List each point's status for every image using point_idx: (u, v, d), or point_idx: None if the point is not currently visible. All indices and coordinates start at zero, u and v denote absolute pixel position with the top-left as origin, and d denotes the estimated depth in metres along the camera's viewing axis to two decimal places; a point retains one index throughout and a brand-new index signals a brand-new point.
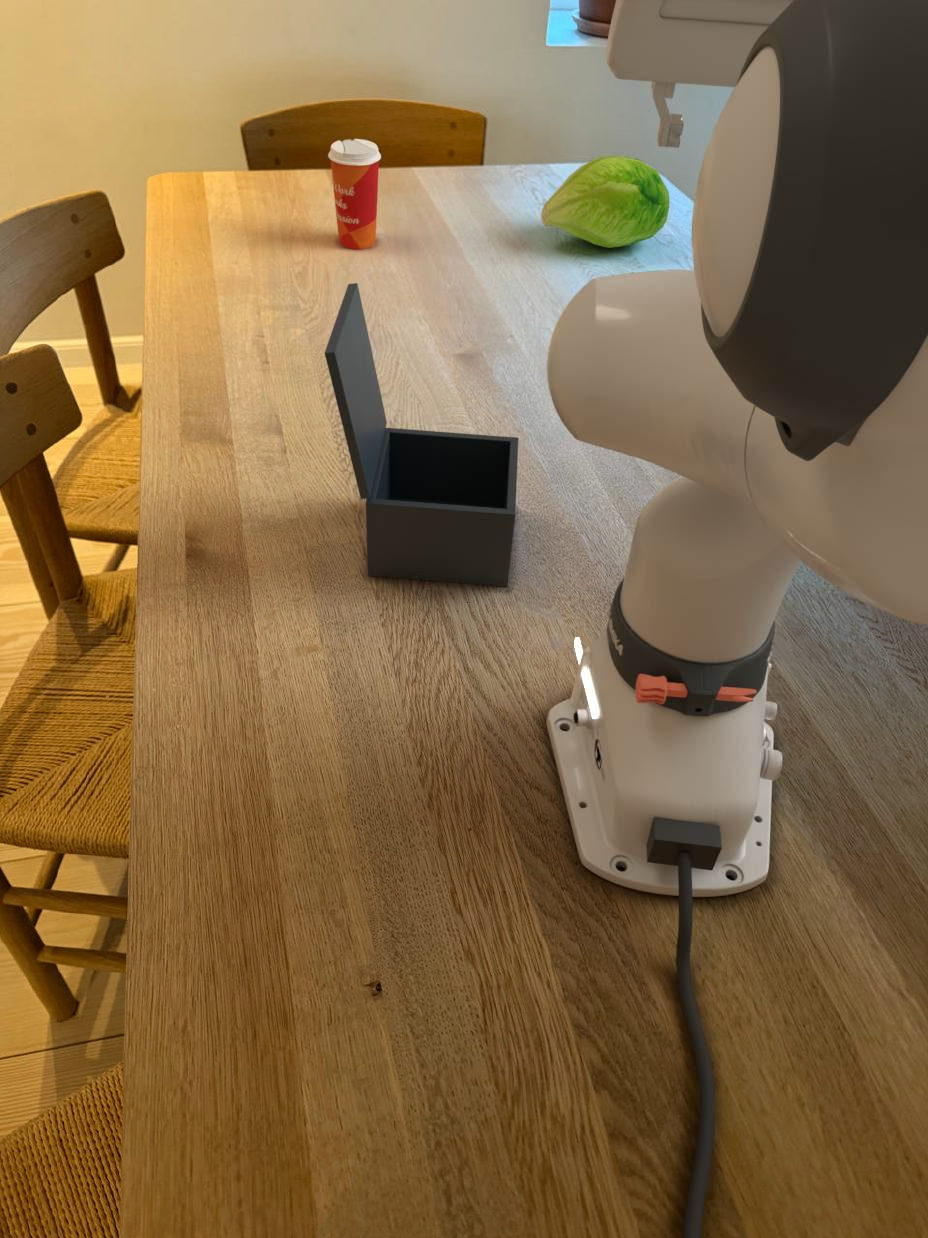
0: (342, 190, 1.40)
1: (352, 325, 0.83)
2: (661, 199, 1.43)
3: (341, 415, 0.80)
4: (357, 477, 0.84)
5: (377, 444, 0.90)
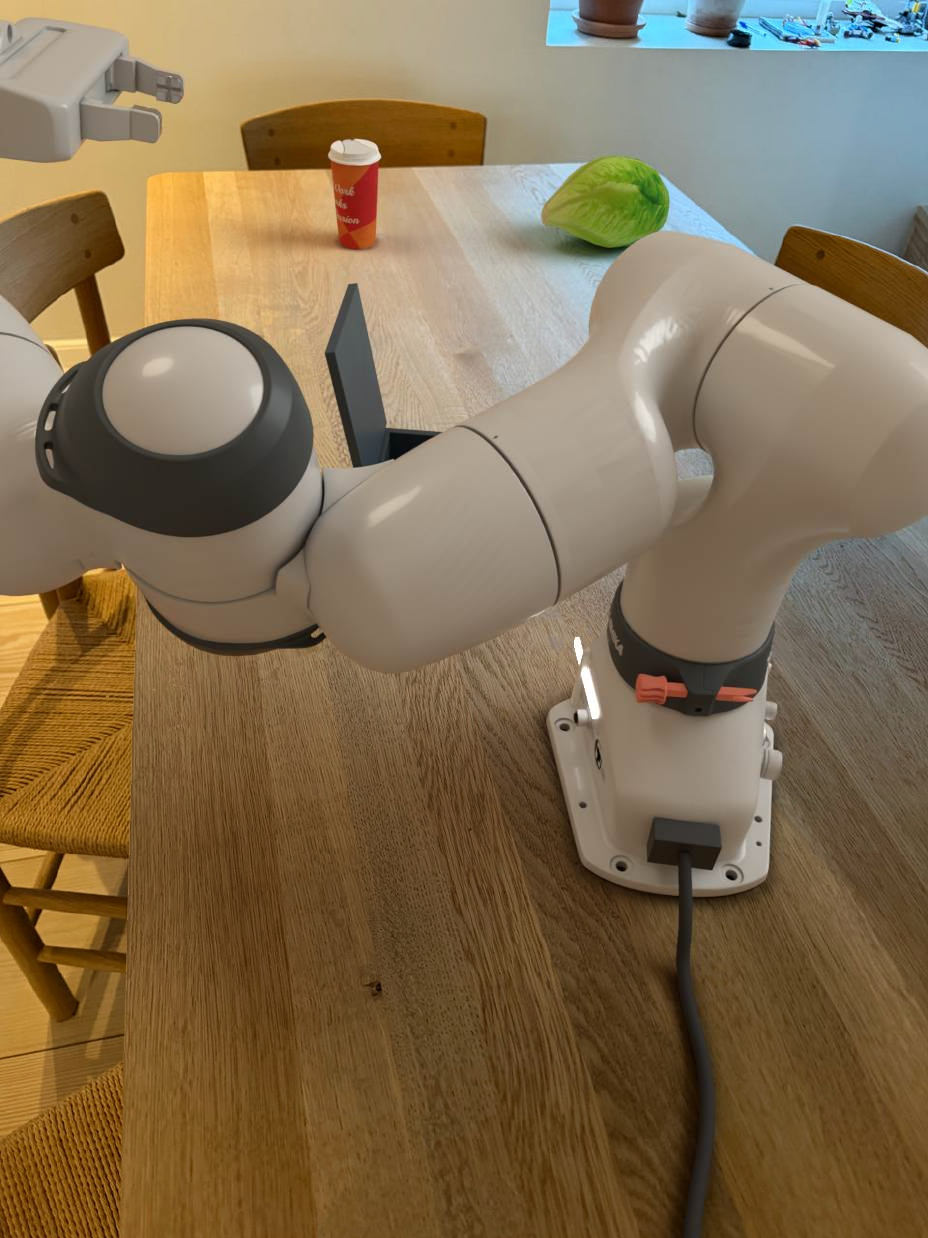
0: (342, 190, 1.40)
1: (352, 325, 0.83)
2: (661, 199, 1.43)
3: (341, 415, 0.80)
4: None
5: (377, 444, 0.90)
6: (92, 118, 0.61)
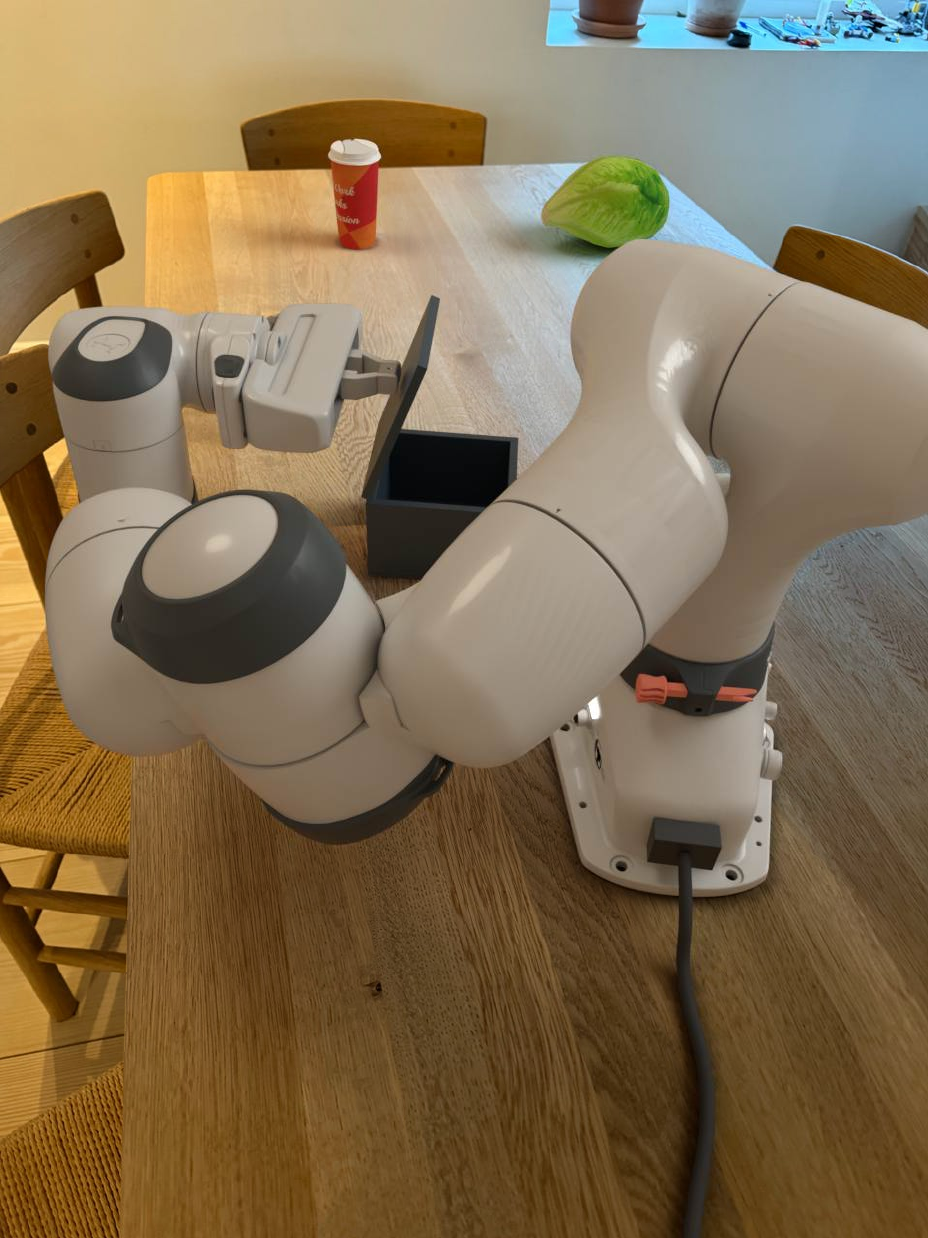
0: (342, 190, 1.40)
1: None
2: (661, 199, 1.43)
3: (394, 422, 0.80)
4: (371, 478, 0.84)
5: None
6: (351, 386, 0.83)
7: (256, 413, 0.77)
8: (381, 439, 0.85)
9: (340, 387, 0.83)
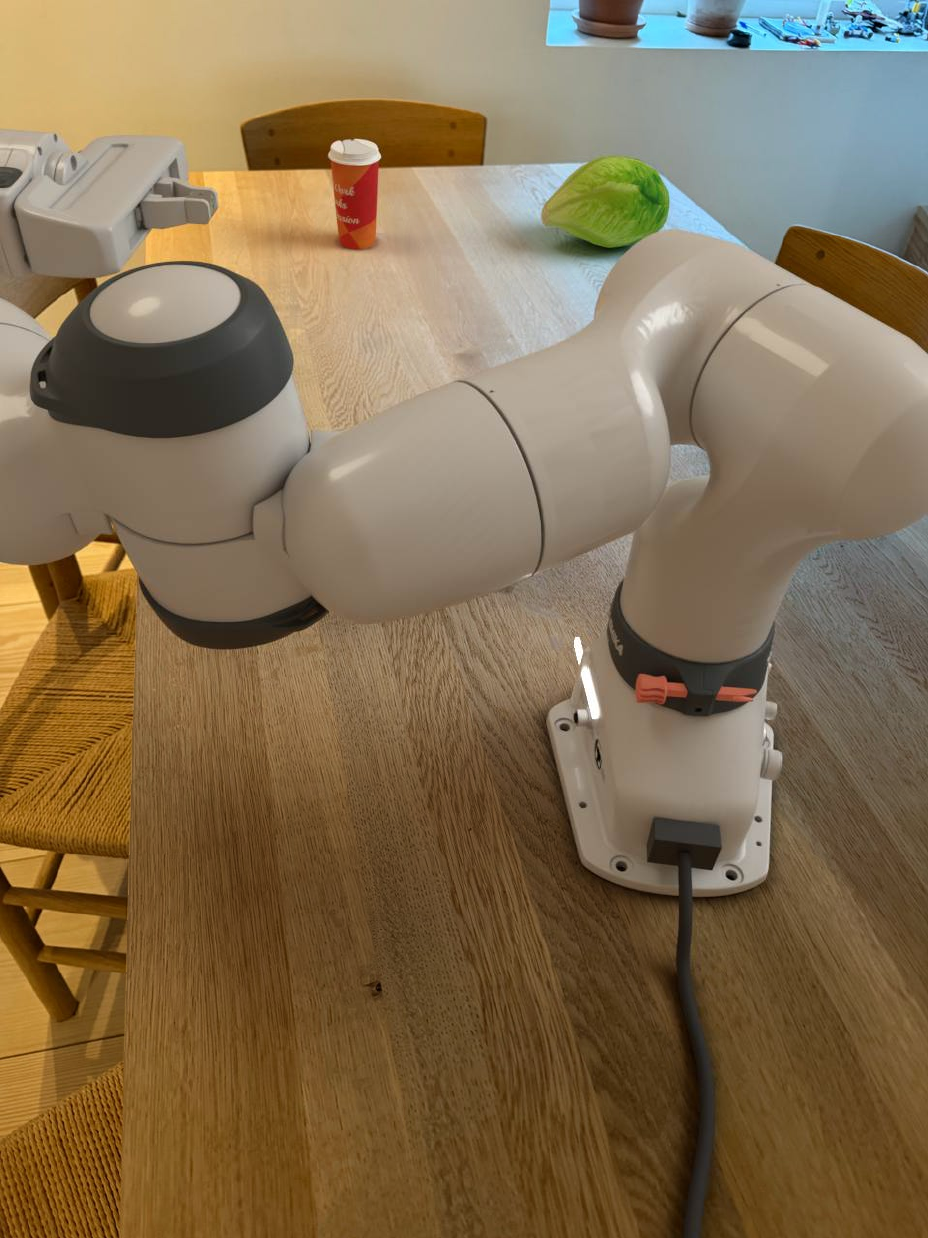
0: (342, 190, 1.40)
1: None
2: (661, 199, 1.43)
3: None
4: None
5: None
6: (154, 211, 0.73)
7: (29, 228, 0.68)
8: None
9: (142, 213, 0.73)
